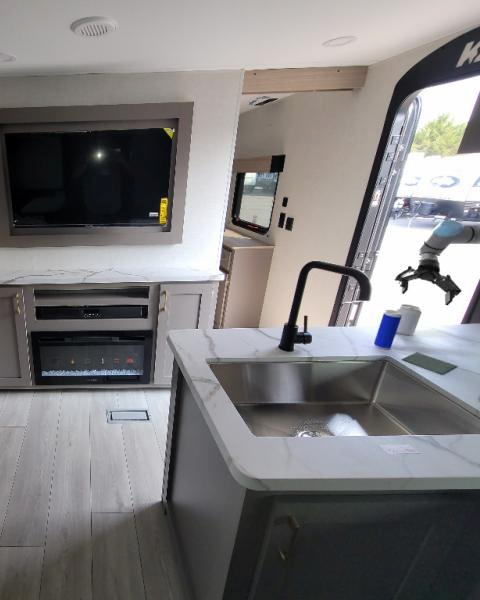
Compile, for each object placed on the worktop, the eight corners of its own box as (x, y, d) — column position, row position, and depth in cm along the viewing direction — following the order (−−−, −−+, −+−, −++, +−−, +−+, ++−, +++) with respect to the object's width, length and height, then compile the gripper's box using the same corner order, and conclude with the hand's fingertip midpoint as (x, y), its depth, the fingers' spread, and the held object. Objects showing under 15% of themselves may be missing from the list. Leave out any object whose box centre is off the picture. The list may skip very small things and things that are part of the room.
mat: (456, 366, 116) (457, 365, 116) (441, 374, 112) (442, 373, 111) (416, 352, 125) (416, 352, 125) (401, 359, 121) (401, 359, 121)
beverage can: (387, 344, 131) (399, 310, 126) (392, 350, 127) (405, 315, 122) (371, 342, 133) (382, 308, 128) (376, 348, 129) (387, 313, 124)
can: (395, 334, 139) (404, 309, 135) (386, 327, 146) (394, 302, 141) (417, 336, 137) (427, 310, 133) (406, 329, 143) (416, 304, 139)
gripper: (459, 280, 139) (461, 314, 128) (386, 263, 151) (382, 293, 140) (472, 267, 133) (475, 301, 123) (396, 251, 145) (392, 280, 134)
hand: (426, 297), depth 131 cm, fingers open, 13 cm apart
